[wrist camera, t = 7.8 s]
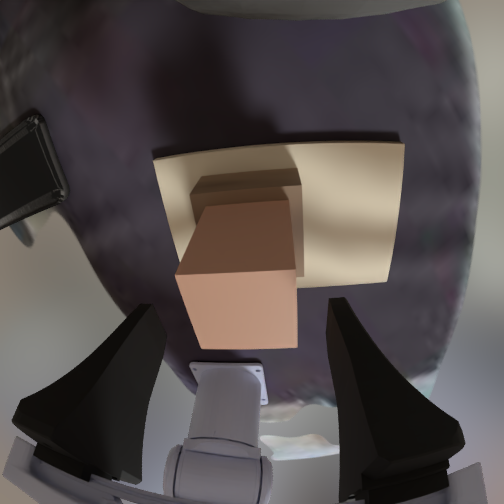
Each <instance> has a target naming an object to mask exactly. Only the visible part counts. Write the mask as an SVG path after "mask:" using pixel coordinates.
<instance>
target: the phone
mask: <svg viewBox="0 0 504 504" xmlns="http://www.w3.org/2000/svg"><path fill="white" fill-rule="evenodd" d="M69 192H70V191H69V185H68V182H67V179H66V177H65V174H64V172H63V169H62V167H61V164H60V162H59V159H58V156H57V153H56V151H55V148H54V145H53V142H52V139H51V136H50V133H49V130H48V127H47V124H46V121H45V119H44V118H43V117H42V116H41V115H33V116H30V117H28V118H26V119H25V120H24V121H22V122H21V123H20V124H19V125H17V126H16V127H15V128H13V129H12V130H11V131H10V132H8V133H7V134H6V135H5V136H4V137H3V138H1V139H0V230H1V229H3V228H5V227H8V226H10V225H12V224H14V223H16V222H18V221H20V220H23V219H25V218H27V217H29V216H32V215H34V214H36V213H39V212H41V211H43V210H46V209H48V208H50V207H53V206H55V205H58V204H60V203H61V202H63V201H64V200H65V199H66V198H67V197H68V196H69Z"/></svg>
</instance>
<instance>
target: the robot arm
mask: <svg viewBox="0 0 504 504" xmlns="http://www.w3.org/2000/svg"><path fill="white" fill-rule="evenodd" d="M166 338H167V335H166V333H165V331H164V328H163V326H162V324H161V322H160V320H159V317H158V315H157V313H156V311H155V308H154V306H153V304H140V305H139V306H138V307H137V308H136V309H135V310H134V311H133V312H132V313H131V314H130V315H129V316H128V317H127V318H126V319H125V320H124V321H123V322H122V323H121V324H120V325H119V326H118V328H117V329H116V330H115V331H114V332H113V333H112V334H111V335H110V336H109V337H108V338H107V339H106V340H105V341H104V342H103V343H102V344H101V345H100V346H99V347H98V348H97V349H96V350H95V351H94V352H93V353H92V354H91V355H89V356H88V357H87V358H86V359H85V360H84V361H82V362H81V363H80V364H79V365H78V366H76V367H75V368H74V369H73V370H71V371H70V372H68V373H67V374H66V375H64V376H63V377H62V378H60V379H59V380H57V381H55V382H54V383H52V384H51V385H49V386H47V387H46V388H44V389H42V390H40V391H38V392H36V393H35V394H32V395H30V396H28V397H26V398H24V399H21V400H20V403H19V405H18V407H17V409H16V411H15V414H14V416H13V419H12V423H13V424H14V425H15V426H16V427H17V428H19V429H20V430H21V431H22V432H24V433H25V434H26V435H28V436H29V437H30V438H32V439H33V440H35V441H36V442H37V445H36V447H35V446H34V445H32V444H30V443H28V442H27V441H25V440H23V439H21V438H19V437H18V436H17V437H16V438H15V440H14V443H13V446H12V448H11V451H10V454H9V456H8V459H7V462H6V465H5V468H4V471H3V474H2V475H3V476H4V477H5V478H6V479H7V480H9V481H10V482H12V483H13V484H14V485H16V486H17V487H18V488H19V489H21V490H22V491H23V492H25V493H26V494H27V495H29V496H30V497H31V498H33V499H34V500H35V501H36V502H38V503H39V504H123V503H122V501H121V499H124V500H127V501H130V502H134V503H137V504H268V503H269V500H270V496H271V491H272V481H273V472H272V471H273V470H272V464H271V462H270V461H269V460H268V458H267V457H266V456H261V448H258V437H259V422H260V405H266V404H268V396H267V390H266V384H265V378H264V371H263V365H262V364H261V363H209V362H191V363H190V365H189V367H190V369H191V371H192V373H193V375H194V377H195V379H196V381H197V383H198V389H197V394H196V399H195V403H194V409H193V413H192V418H191V423H190V429H189V434H188V438H185V439H184V444H183V446H182V445H179V444H178V445H176V446H175V447H173V448H172V449H171V450H170V452H169V455H168V457H167V461H166V465H165V470H164V477H163V490H164V495H161V494H156V493H152V492H148V491H144V490H140V489H137V488H133V487H129V486H126V485H123V484H120V483H117V482H113V481H111V480H112V479H113V480H117V481H120V480H121V481H125V482H128V483H132V484H135V485H136V484H138V483H140V482H141V481H142V448H143V437H144V429H145V421H146V415H147V410H148V404H149V401H150V397H151V394H152V391H153V387H154V384H155V381H156V378H157V375H158V372H159V368H160V365H161V362H162V359H163V355H164V350H165V344H166ZM326 340H327V351H328V359H329V364H330V369H331V374H332V379H333V385H334V390H335V395H336V401H337V408H338V421H339V443H340V480H339V503H338V504H487V496H486V490H485V484H484V478H483V473H482V468H481V464H480V463H479V462H477V463H475V464H473V465H471V466H468V467H466V468H463V469H461V470H458V471H456V472H454V473H451V474H449V475H447V470H446V469H448V468H449V466H450V465H449V460H448V459H449V458H451V457H452V456H453V455H455V454H456V453H458V452H459V451H460V450H461V449H462V448H463V447H464V445H465V440H464V436H463V432H462V429H461V427H460V425H459V422H458V421H457V420H455V419H454V418H453V417H451V416H450V415H448V414H447V413H445V412H444V411H442V410H441V409H440V408H438V407H437V406H436V405H435V404H433V403H432V402H430V401H429V400H428V399H427V398H426V397H425V396H424V395H422V394H421V393H420V392H419V391H418V390H417V389H416V388H415V387H414V386H412V385H411V384H410V383H409V382H408V381H407V380H406V379H405V378H404V377H403V376H402V375H401V374H400V373H399V372H398V370H397V369H396V368H395V367H394V366H393V365H392V364H391V363H390V362H389V360H388V359H387V358H386V357H385V356H384V354H383V353H382V352H381V350H380V349H379V348H378V347H377V345H376V344H375V343H374V341H373V340H372V339H371V337H370V336H369V334H368V333H367V331H366V330H365V329H364V327H363V326H362V324H361V323H360V321H359V319H358V318H357V316H356V315H355V313H354V311H353V310H352V308H351V306H350V305H349V303H348V301H347V299H346V298H345V297H341V298H329V304H328V316H327V326H326ZM120 498H121V499H120Z"/></svg>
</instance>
